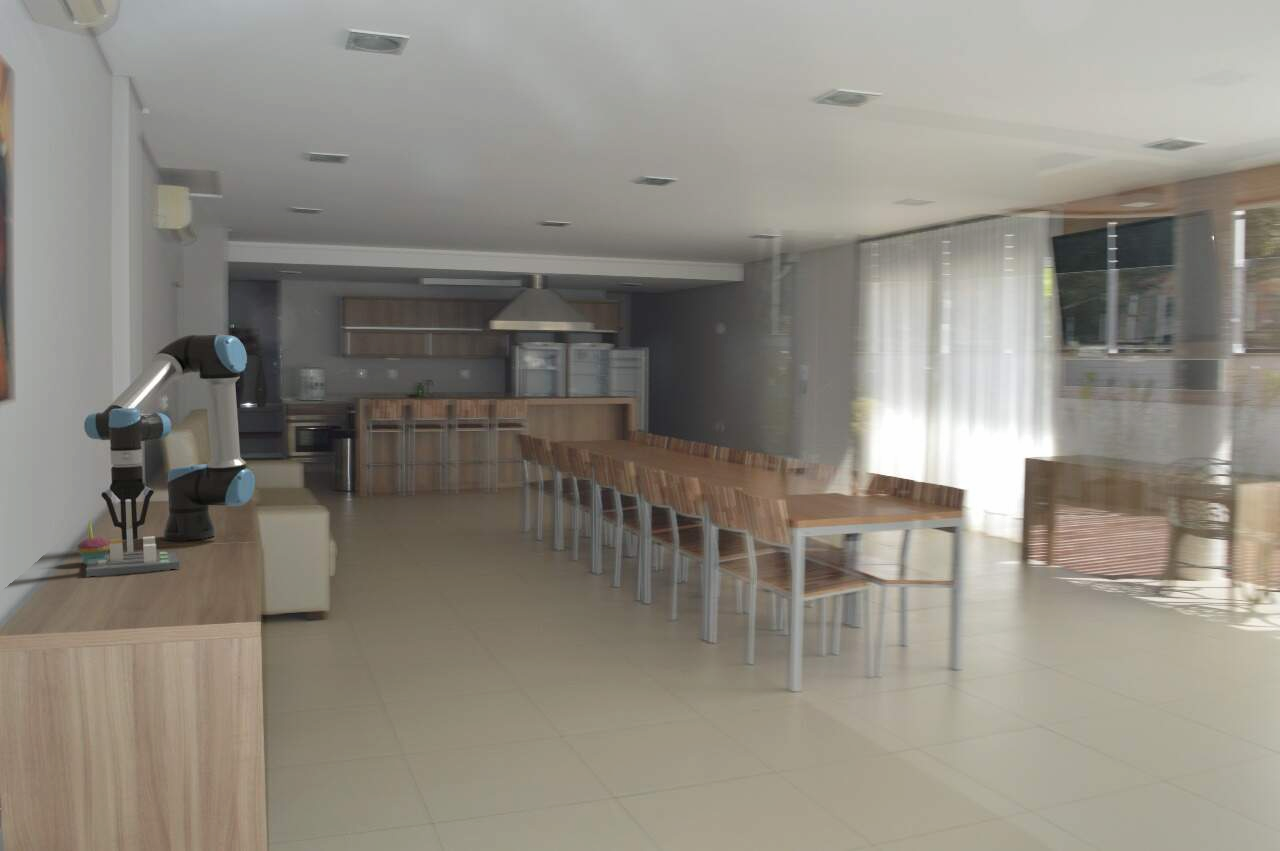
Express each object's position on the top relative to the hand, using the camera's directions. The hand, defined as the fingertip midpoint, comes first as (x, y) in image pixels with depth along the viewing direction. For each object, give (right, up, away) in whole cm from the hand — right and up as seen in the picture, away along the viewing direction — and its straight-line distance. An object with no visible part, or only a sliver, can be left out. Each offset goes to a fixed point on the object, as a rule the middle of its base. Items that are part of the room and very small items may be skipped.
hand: (130, 551), depth 268 cm
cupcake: (-13, -4, +6) cm, 15 cm away
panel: (+1, -5, 0) cm, 5 cm away
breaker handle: (-3, -2, -2) cm, 4 cm away
